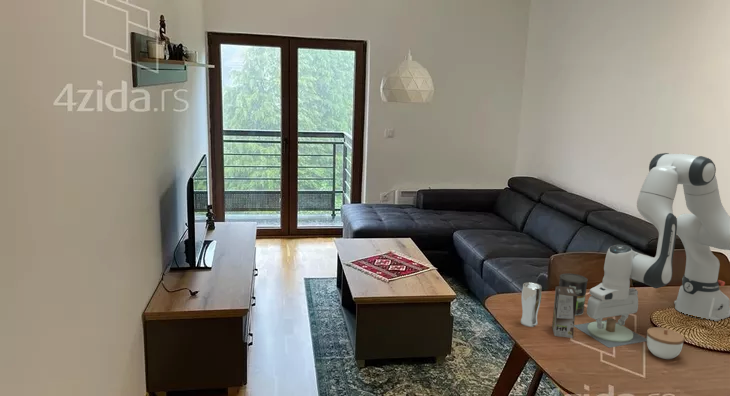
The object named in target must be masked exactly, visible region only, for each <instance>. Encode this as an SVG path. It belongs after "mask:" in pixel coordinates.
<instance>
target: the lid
mask: <svg viewBox="0 0 730 396" xmlns="http://www.w3.org/2000/svg"><path fill="white" fill-rule="evenodd" d="M606 320H607V322H605V321H604V320H601V322H602V323H603V324H604V328H603V329H599V328H597V322H596V321H591V322H589V323H590V324H588V331H589V333H591V334H592V335H593V336H595V337H597V338H600V339H603V340H606V341H611V342H628V341H631V340H632V339H633V332H634V331H633V330H631V329H629V328H628V327H626V326H625V325H622V326H620V325H618V324H616V323H617V319H616V318H612V317H606ZM632 331H633V332H632Z"/></svg>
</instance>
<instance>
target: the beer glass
mask: <svg viewBox="0 0 730 396" xmlns="http://www.w3.org/2000/svg"><path fill="white" fill-rule="evenodd" d="M542 287H543V286H542V285H541V284H539V283H536V282H524V283H523V284H522V290H521V309H522V313H521V315H522V316H521V319H520V323H521V325H523V326H524V327H530V328H533V327H536V326H537V325H538V313H539V310H540V306H541V302H542Z"/></svg>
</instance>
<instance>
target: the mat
mask: <svg viewBox="0 0 730 396" xmlns="http://www.w3.org/2000/svg"><path fill="white" fill-rule="evenodd" d="M603 321H605V322H607V319H606V320H603ZM590 323H591V322H586V323H580V324H579V323H578V324H574V328H575V329H577V330H579V331H581V332H582V333H584V334H586V335H587V336H589V337H590V338H592V339H594V340H595V341H597V342H598V343H600V344H602V345H604V346H605V347H606V348H609V349H610V348H615V347H621V346H627V345H632V344H633V345H634V344H638V343H639V344H640V343H644V342H647V337H644V336H642V335H640V334H638V333H636V332H634V331H633V330H631V331H632V332H633V339H632V340H631V341H628V342H611V341H606V340H603V339H600V338H597V337H595V336H593V335H592V334H591V333H589V331H588V324H590ZM616 324H618V322H616Z"/></svg>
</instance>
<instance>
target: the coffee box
mask: <svg viewBox="0 0 730 396" xmlns="http://www.w3.org/2000/svg"><path fill="white" fill-rule="evenodd" d="M554 292H555V293H554V302H553V313H552V315H553V316H552V324H551V325H552V332H553V335H554V336H555V337H560V338H568V339H569V338H570V339H573V338H574V337H573V336H574V329H575V327H574V325H575V319H576V315H575V312H576V304H577V294H576V292H575V290H574V288H573V287H560V286H559V285H558V286H555V291H554Z"/></svg>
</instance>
